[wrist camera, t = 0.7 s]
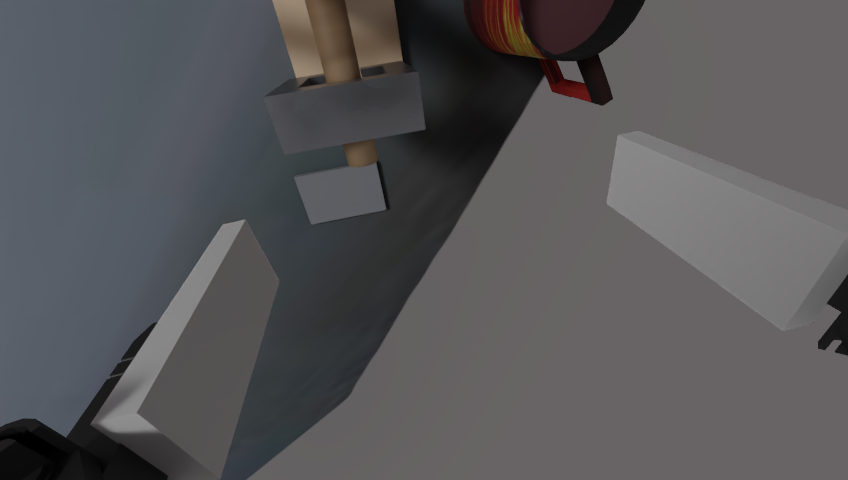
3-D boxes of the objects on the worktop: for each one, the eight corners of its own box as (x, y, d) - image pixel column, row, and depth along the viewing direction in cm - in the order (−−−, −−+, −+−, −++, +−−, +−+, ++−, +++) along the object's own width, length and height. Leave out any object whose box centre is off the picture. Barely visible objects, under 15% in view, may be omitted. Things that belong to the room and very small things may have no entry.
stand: (262, -41, 27) (108, -161, 10) (383, -57, 28) (426, -195, 11) (312, 123, 34) (270, 210, 17) (408, 106, 35) (456, 174, 18)
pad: (294, 175, 36) (294, 177, 36) (375, 160, 37) (376, 162, 37) (311, 222, 40) (311, 224, 39) (386, 207, 40) (386, 209, 40)
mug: (549, 92, 37) (622, 114, 26) (444, 18, 31) (485, 11, 21) (610, -3, 33) (723, -19, 23) (502, -104, 27) (586, -183, 17)
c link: (303, 122, 25) (284, 154, 18) (289, 78, 23) (263, 97, 17) (407, 104, 26) (425, 129, 19) (401, 60, 24) (418, 71, 17)
